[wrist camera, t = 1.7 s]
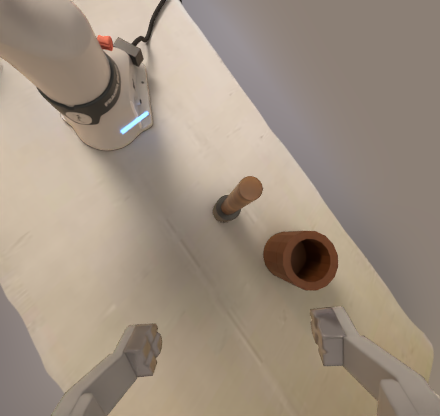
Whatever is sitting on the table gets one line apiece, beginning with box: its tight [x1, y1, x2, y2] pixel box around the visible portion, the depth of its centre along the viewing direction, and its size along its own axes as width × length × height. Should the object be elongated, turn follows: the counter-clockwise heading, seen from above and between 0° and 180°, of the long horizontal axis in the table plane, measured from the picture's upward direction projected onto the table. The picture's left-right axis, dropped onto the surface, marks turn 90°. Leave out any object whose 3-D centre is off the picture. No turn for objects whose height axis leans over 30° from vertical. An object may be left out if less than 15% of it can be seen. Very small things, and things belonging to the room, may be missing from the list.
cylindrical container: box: [263, 231, 338, 290], centre depth 44 cm, size 10×10×11 cm
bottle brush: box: [213, 176, 263, 222], centre depth 37 cm, size 5×5×24 cm
